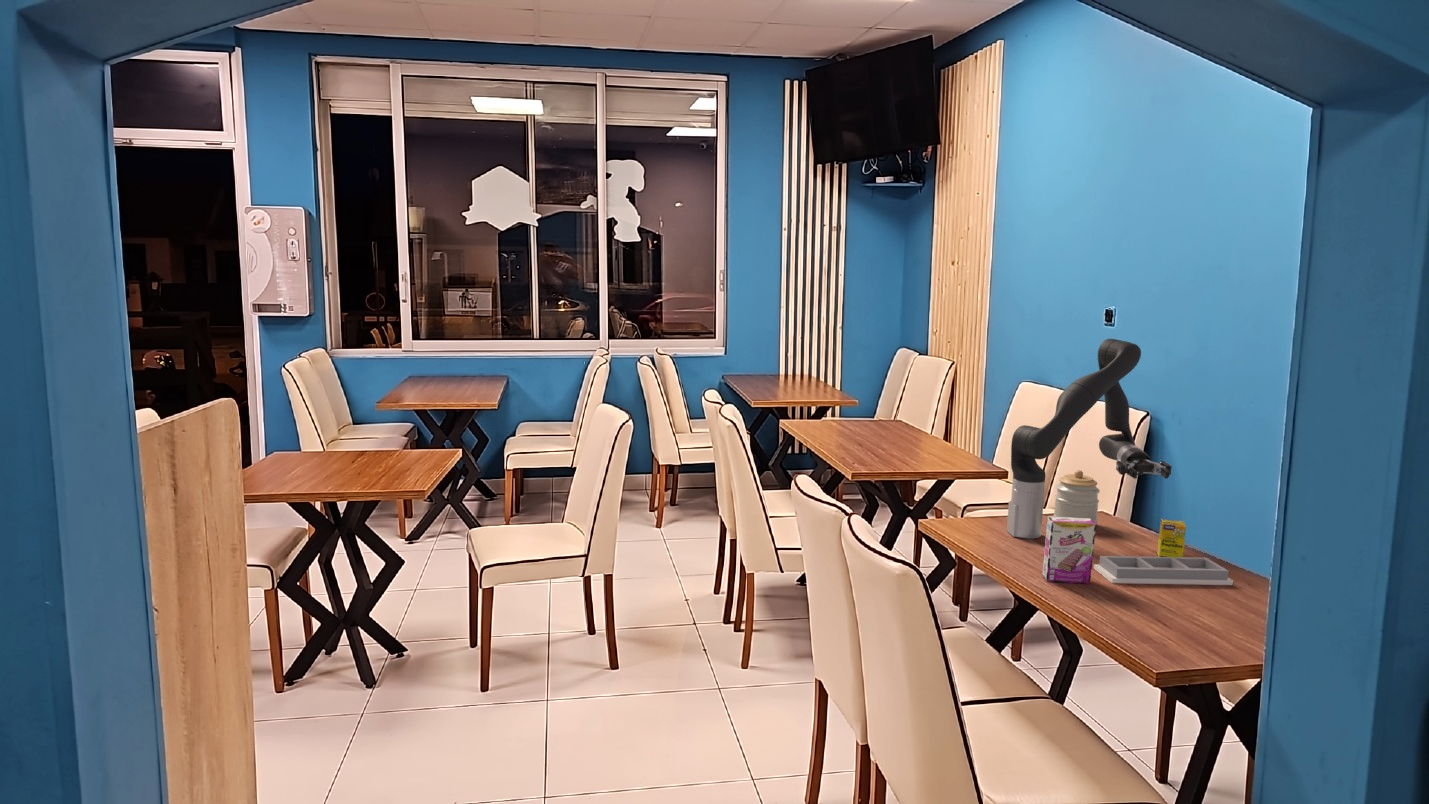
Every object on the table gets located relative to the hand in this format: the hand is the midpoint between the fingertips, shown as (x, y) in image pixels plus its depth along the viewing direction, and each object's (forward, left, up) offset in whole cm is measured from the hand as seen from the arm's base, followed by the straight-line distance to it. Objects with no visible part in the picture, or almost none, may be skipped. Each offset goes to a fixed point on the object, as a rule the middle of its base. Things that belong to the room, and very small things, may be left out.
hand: (1151, 475), depth 259 cm
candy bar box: (-35, -30, -22) cm, 51 cm away
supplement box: (+1, -12, -22) cm, 25 cm away
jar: (-12, +22, -22) cm, 33 cm away
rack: (-8, -26, -21) cm, 35 cm away
